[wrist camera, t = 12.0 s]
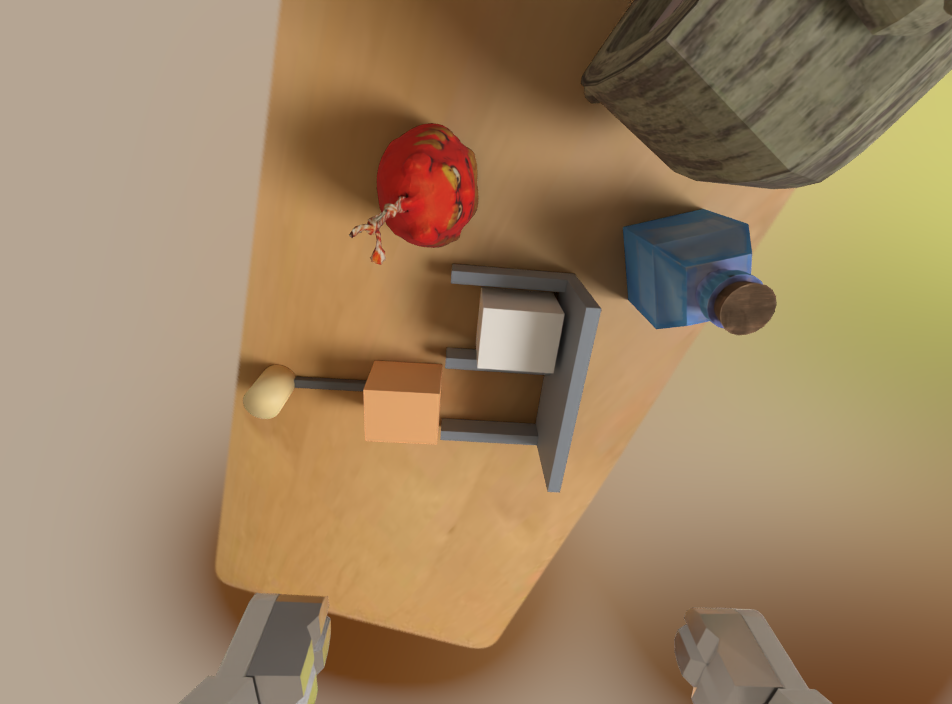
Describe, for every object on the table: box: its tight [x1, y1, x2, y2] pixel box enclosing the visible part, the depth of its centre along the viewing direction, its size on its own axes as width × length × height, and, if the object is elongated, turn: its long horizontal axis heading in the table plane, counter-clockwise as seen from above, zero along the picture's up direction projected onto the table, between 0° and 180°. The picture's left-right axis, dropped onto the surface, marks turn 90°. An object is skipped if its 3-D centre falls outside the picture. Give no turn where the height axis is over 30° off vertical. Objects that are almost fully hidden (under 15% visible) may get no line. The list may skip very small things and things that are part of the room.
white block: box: [476, 287, 565, 373], centre depth 36 cm, size 5×6×5 cm
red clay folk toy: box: [349, 123, 478, 265], centre depth 27 cm, size 8×7×15 cm
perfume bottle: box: [623, 209, 776, 335], centre depth 31 cm, size 6×6×12 cm
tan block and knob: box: [243, 361, 442, 444], centre depth 39 cm, size 5×16×5 cm, turn 85°
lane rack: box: [440, 264, 601, 492], centre depth 36 cm, size 16×10×8 cm, turn 175°
